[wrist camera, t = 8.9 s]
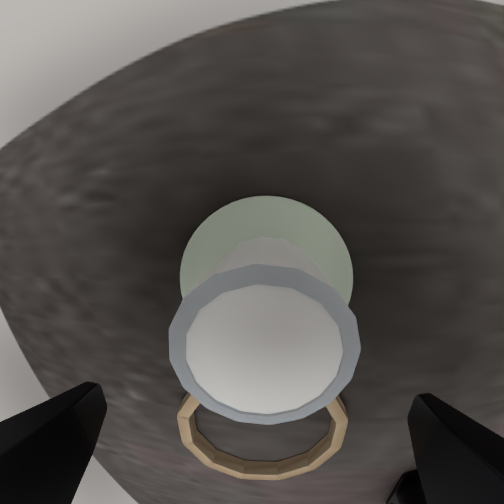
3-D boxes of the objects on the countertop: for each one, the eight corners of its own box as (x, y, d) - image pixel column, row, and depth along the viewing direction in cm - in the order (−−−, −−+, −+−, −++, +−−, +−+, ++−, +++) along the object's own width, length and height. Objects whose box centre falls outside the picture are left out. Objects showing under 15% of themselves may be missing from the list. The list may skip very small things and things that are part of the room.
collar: (329, 465, 22) (331, 478, 20) (192, 460, 22) (189, 473, 21) (355, 358, 19) (360, 371, 17) (174, 353, 19) (168, 366, 18)
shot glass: (213, 344, 18) (187, 426, 12) (196, 230, 17) (148, 271, 10) (329, 337, 18) (354, 419, 11) (327, 219, 16) (366, 256, 9)
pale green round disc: (340, 354, 19) (342, 359, 18) (188, 350, 19) (186, 355, 19) (356, 198, 16) (359, 199, 16) (178, 195, 17) (175, 196, 16)
